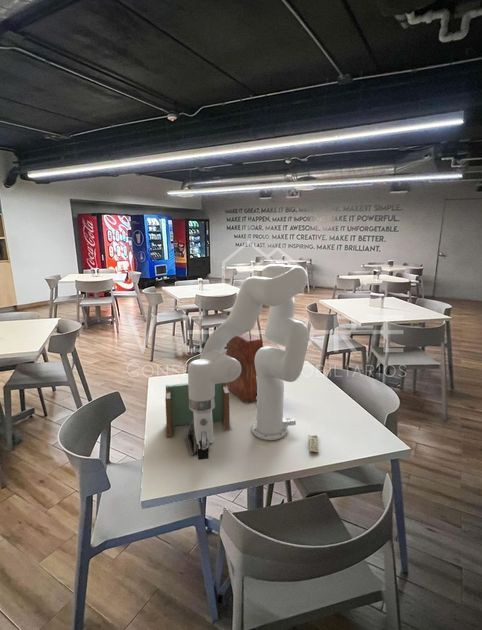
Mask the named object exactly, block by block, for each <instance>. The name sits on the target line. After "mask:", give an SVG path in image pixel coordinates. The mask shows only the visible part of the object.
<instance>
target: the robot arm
mask: <svg viewBox="0 0 482 630" xmlns="http://www.w3.org/2000/svg"><path fill="white" fill-rule="evenodd" d="M308 281H309V275H308V272H307V270H306V269H305V268H304V267H303V266H300V265H294V264H293V265H292V264H283V263H282V264H281V263H271V264H267V265H265V266H264V267H263V268H262V271H261V276H248V277H246V279H244V281H243V282H242V284H241V286H240V289H239V291H238V293H237V296H236V298H235V301H234V302H233V306H232V308H231V309H230V312H229V315H228V316H227V319H226V320H224V321H223V322H222V323H221V324H220V325H218V327H216V328H215V330H213V331H212V333H211V334H210V335H209V337H208V338H207V339H206V342H205V344H204V346H203V348H202V351H201V354H200V357H199V358H198V359H193V360H192V361H190V362H189V363H188V366H187V378H188V379H187V383H188V389H189V409H190V410H191V411H193V417H194V430H195V436H196V441H197V444H198V445H197V451H196V455H197V456H196V457H197V460H198V461H201V460H208V459H209V453H210V452H209V449H208V441H209V443H211V444H213V443H214V421H213V418H212V409H213V408H214V407H215V384H219V383H228V382H232V381H234V380H236V379H237V378H238V377H239V375H240V374H241V364H240V363H239V362H238V361H237V360H236V359H234V358H232V357H230V356H227V355H226V353H223V351H224V350H225V347H226V346H227V345H228V343H229V341H230V340H231V339H232V338H233V337H235V336H237V335H240V334H243V333H249V331H250V332H251V331H253V330H254V328H255V325H256V323H257V321H258V318H259V316H260V313H261V311H262V308H263V306H267V307H269V311H268V315H267V320H266V325H265V330H264V336H265V339H266V340H267V341H268V342H270V343H272V344H275V345H278V346H282V347H285V349H283V348H282V349H281V348H278V347H275V346H270V345H265V346H263V347H262V348H260V349H259V350H258V351H257V353H256V355H255V369H256V374H257V400H256V421H255V422H254V423H253V425H252V427H251V431H252V434H253V436H255V437H256V438H258V439H260V440H265V441H276V440H280V439H282V438H284V437H285V436H286V435H287V433H288V427H289V426H296V425H297V422H296V419H291V418H290V417H284V399H285V398H284V395H285V394H284V393H285V383H284V382H287V383H293V382H296V381H297V380H298V379H299V378H300V376H301V374H302V371H303V368H304V365H305V361H306V360H305V359H306V355H307V351H308V346H309V341H310V331H309V328H308V326H307V325H306V323H305V322H303V321H301V320H297V319H294V316H295V315H294V314H295V309H296V302H295V297H296V295H297V296H298V294H300V293H301V292H302V291H304V289H305V288H306V286H307V284H308Z"/></svg>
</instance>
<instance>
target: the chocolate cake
mask: <svg viewBox="0 0 482 630" xmlns="http://www.w3.org/2000/svg"><path fill="white" fill-rule="evenodd" d="M185 437H186V443H187V445H188V449H189V451H190V455H191V456H193V455H195V454H197V445H198V444H197V441H196V436H195V430H194V423H193V419H192V422H191V424H189V426H188V427H187V432H186V436H185ZM211 444H212V443H209V441H208V450H210V445H211Z"/></svg>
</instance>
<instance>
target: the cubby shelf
mask: <svg viewBox="0 0 482 630" xmlns="http://www.w3.org/2000/svg"><path fill="white" fill-rule="evenodd" d="M164 399H165V401H164V402H165V421H166V437H167V438H171V437H173V427H177V426H186V425H190V424H191V422H192V419H193V423H194V417H193V411H191V410H190V409H189V389H188V382H187V383H176V384H165V396H164ZM230 406H231V405H230V390H229V389H228V388H227V385H226V383H219V384H215V407H214V408H213V409H212V418H213V422H219V421H220V422H221V421H222V424H223V427H224V430H225V431H230V429H231V428H230V426H231V425H230V424H231V423H230V421H231V420H230V419H231V418H230V416H231V414H230V408H231V407H230Z"/></svg>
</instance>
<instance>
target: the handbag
mask: <svg viewBox="0 0 482 630" xmlns="http://www.w3.org/2000/svg"><path fill="white" fill-rule="evenodd" d="M262 347H264V344H263V340H262V338H259V337H257V336H254V335H253V334H251V331H249V332H246V333H243V334H240V335H237V336H235V337H233V338H232V339H231V340H230V341H229V342H228V343H227V348H226V351H225V355H227V356H230V357H232V358H234V359H236V360H237V361H238V362H239V363H240V364H241V374H240V375H239V377H238V378H237V379H236V380H234V381H232V382H228V383H226V385H227V388H228V390H229V391H230V392H231V393H233V394H234V395H235V396H236V397H237V398H239V399H240V400H241V401H242V402H243V403H251V402H255V401H257V400H256V376H257V374H256V369H255V355H256V353H257V351H258V350H259V349H260V348H262Z"/></svg>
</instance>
